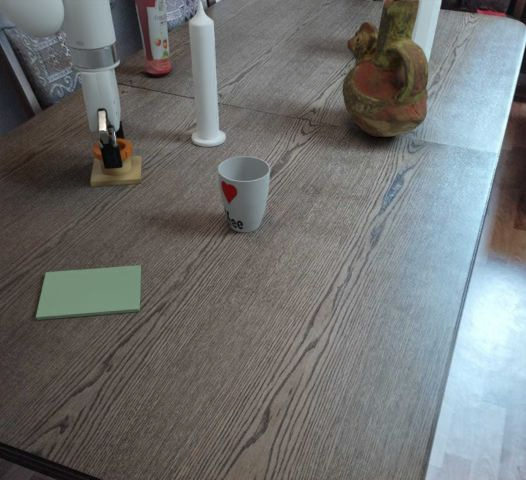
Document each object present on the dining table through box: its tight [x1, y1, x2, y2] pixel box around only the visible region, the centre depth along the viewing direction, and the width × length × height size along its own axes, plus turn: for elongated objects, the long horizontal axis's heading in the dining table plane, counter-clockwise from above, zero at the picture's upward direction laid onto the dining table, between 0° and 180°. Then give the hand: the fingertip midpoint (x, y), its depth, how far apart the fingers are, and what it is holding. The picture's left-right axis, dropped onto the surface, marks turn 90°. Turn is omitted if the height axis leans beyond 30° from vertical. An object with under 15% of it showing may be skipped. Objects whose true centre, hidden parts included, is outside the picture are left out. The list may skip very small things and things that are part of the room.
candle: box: [188, 0, 227, 148], centre depth 105 cm, size 7×7×25 cm
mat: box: [35, 264, 142, 321], centre depth 79 cm, size 14×10×1 cm
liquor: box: [134, 0, 173, 78], centre depth 129 cm, size 7×7×28 cm
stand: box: [89, 135, 143, 187], centre depth 101 cm, size 9×9×7 cm
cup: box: [217, 155, 271, 233], centre depth 88 cm, size 8×8×10 cm
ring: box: [92, 138, 134, 161], centre depth 100 cm, size 7×7×1 cm
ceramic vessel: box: [342, 0, 429, 138], centre depth 109 cm, size 17×26×25 cm, turn 27°
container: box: [379, 0, 443, 64], centre depth 142 cm, size 14×14×18 cm
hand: (115, 154), depth 101 cm, fingers open, 9 cm apart
